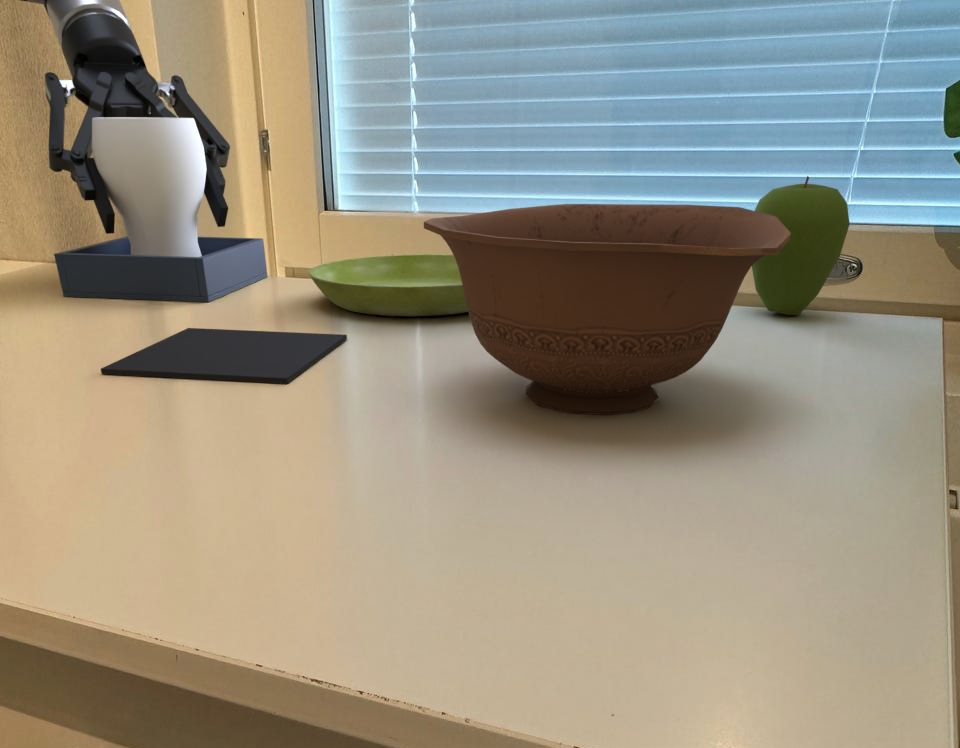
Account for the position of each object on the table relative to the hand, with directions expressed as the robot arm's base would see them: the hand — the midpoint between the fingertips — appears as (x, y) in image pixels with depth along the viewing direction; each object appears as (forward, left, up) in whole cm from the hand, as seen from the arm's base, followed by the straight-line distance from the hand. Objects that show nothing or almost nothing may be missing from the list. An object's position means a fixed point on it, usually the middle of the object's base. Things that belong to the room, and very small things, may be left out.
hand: (168, 220), depth 89 cm
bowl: (+45, -32, -7) cm, 56 cm away
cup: (-2, +2, -6) cm, 7 cm away
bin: (-2, +2, -7) cm, 7 cm away
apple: (+61, -1, -7) cm, 61 cm away
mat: (+17, -26, -7) cm, 32 cm away
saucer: (+26, -2, -7) cm, 27 cm away
